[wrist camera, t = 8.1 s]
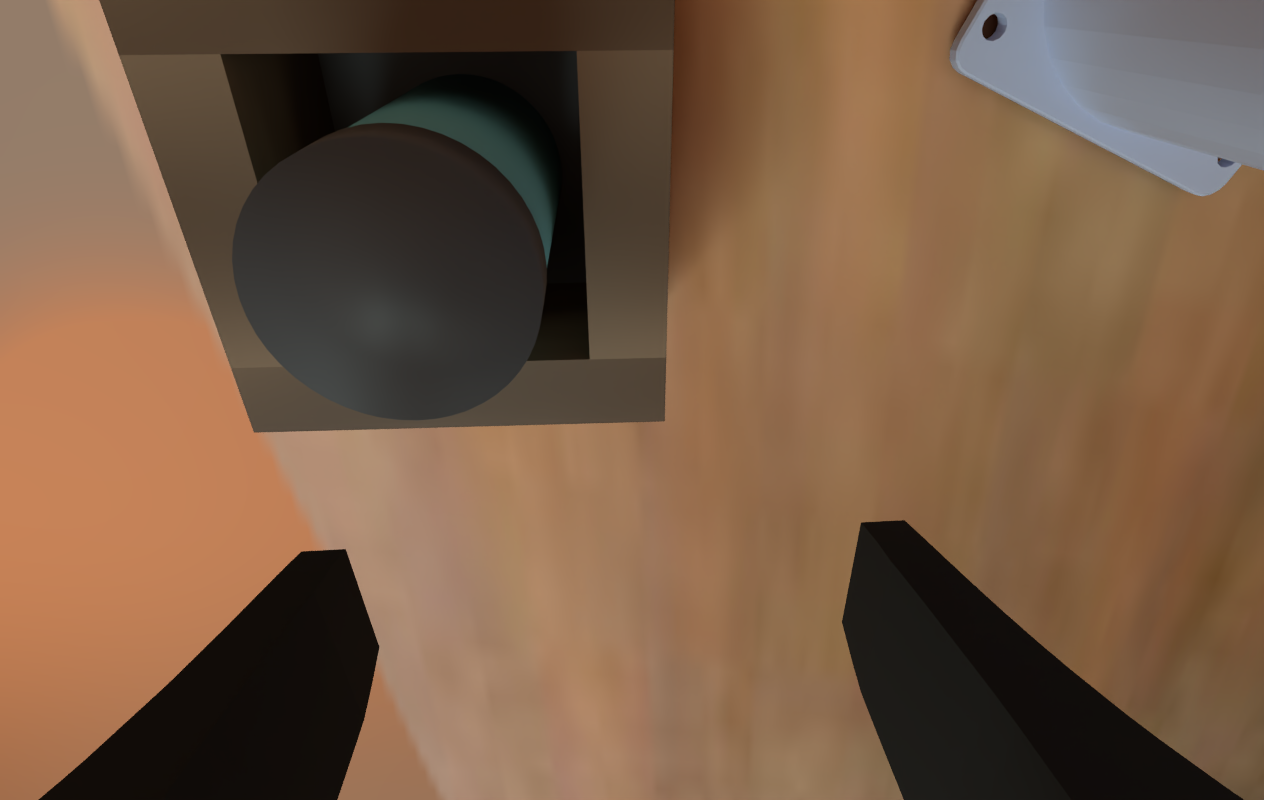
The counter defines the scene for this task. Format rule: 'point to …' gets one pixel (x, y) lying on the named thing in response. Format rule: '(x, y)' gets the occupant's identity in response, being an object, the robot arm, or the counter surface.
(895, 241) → the counter surface
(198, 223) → the socket
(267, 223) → the peg
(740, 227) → the counter surface
